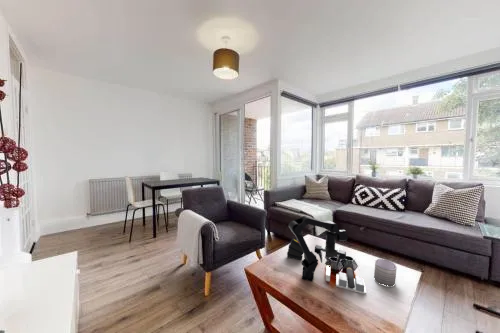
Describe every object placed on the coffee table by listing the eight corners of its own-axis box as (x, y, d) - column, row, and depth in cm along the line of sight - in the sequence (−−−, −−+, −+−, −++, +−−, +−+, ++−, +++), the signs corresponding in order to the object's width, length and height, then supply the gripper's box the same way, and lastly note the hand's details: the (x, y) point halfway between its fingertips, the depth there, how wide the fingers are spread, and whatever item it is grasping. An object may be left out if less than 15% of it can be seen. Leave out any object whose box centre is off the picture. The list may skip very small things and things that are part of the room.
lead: (354, 289, 118) (355, 283, 118) (347, 287, 119) (348, 281, 119) (352, 273, 133) (352, 268, 133) (346, 272, 135) (346, 267, 134)
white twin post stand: (336, 286, 122) (336, 278, 121) (336, 275, 133) (336, 268, 132) (366, 294, 116) (367, 286, 115) (363, 282, 127) (364, 274, 126)
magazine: (283, 252, 157) (292, 237, 154) (298, 263, 154) (308, 247, 151) (282, 255, 153) (292, 239, 150) (298, 265, 150) (308, 249, 147)
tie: (326, 270, 138) (326, 265, 138) (330, 271, 137) (330, 266, 137) (325, 280, 127) (325, 274, 127) (329, 282, 126) (330, 275, 126)
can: (398, 284, 126) (400, 265, 125) (389, 289, 120) (390, 270, 120) (379, 274, 136) (381, 257, 135) (369, 278, 130) (371, 261, 129)
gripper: (314, 243, 127) (312, 266, 128) (347, 249, 119) (345, 274, 120) (315, 236, 137) (314, 258, 138) (346, 242, 129) (344, 265, 131)
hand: (329, 264), depth 131 cm, fingers open, 9 cm apart
